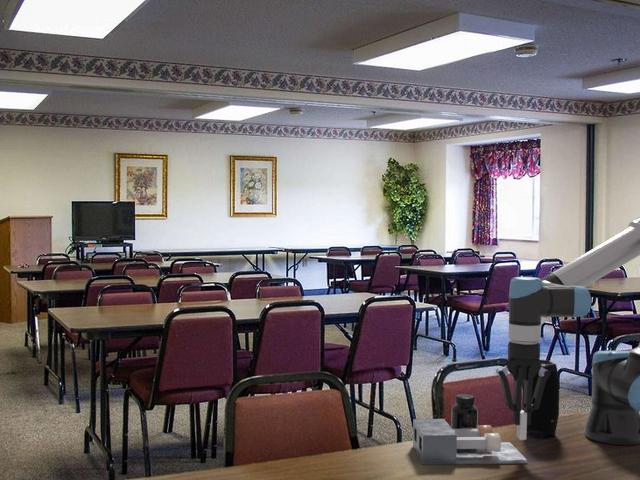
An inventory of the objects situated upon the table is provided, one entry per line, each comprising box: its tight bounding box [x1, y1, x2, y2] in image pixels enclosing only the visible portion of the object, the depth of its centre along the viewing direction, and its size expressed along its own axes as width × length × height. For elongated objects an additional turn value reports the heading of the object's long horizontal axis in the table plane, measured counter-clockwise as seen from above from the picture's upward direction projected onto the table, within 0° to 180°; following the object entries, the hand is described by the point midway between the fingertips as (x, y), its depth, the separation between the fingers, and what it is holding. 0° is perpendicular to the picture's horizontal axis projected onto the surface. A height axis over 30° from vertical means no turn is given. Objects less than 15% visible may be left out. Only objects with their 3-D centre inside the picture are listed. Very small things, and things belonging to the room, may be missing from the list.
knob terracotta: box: [452, 424, 494, 437], centre depth 191 cm, size 13×4×4 cm, turn 93°
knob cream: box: [457, 432, 502, 452], centre depth 184 cm, size 13×4×4 cm, turn 93°
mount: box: [412, 418, 528, 466], centre depth 188 cm, size 25×14×7 cm, turn 93°
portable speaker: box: [522, 359, 560, 439], centre depth 205 cm, size 9×9×20 cm
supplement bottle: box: [450, 393, 479, 429], centre depth 198 cm, size 7×7×12 cm
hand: (521, 438), depth 185 cm, fingers closed
